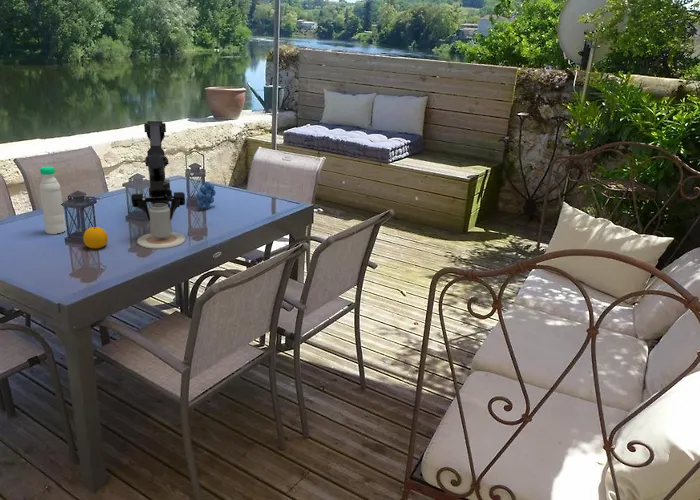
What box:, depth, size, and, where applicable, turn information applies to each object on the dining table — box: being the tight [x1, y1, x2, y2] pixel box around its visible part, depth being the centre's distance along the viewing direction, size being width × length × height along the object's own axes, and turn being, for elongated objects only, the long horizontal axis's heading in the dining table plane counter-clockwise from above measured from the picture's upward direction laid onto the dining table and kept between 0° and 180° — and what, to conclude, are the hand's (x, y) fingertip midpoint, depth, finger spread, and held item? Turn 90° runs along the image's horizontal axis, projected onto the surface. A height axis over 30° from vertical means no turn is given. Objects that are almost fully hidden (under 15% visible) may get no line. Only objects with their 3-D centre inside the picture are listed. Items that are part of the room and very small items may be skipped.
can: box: [148, 203, 173, 238], centre depth 210 cm, size 8×8×12 cm
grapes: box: [196, 181, 217, 211], centre depth 253 cm, size 12×7×12 cm, turn 152°
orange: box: [82, 226, 109, 250], centre depth 203 cm, size 8×8×8 cm
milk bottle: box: [38, 166, 67, 235], centre depth 213 cm, size 7×7×25 cm
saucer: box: [136, 231, 186, 250], centre depth 213 cm, size 17×17×1 cm
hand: (160, 219), depth 209 cm, fingers closed on can, 7 cm apart
